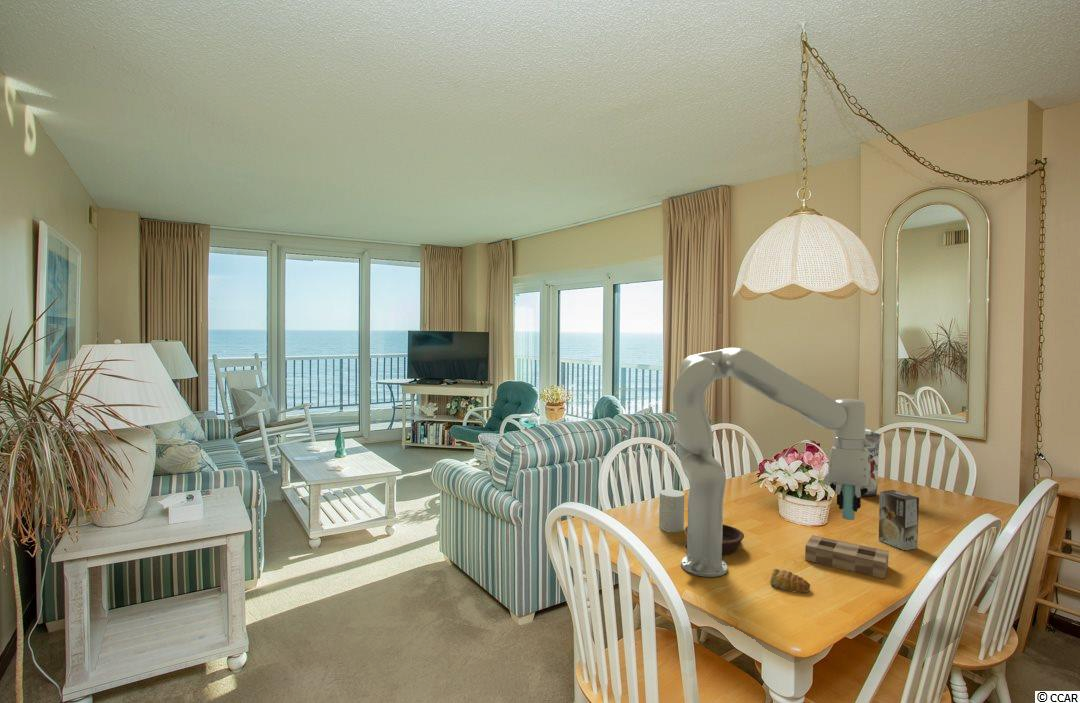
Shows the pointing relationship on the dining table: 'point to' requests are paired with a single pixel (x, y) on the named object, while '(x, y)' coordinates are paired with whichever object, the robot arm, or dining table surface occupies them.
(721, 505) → the robot arm
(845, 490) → the peg
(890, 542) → the coffee box
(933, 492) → the dining table surface
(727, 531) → the dish
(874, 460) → the juice carton
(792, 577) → the pastry
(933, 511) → the dining table surface
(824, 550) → the hole block
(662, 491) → the grey cylinder
